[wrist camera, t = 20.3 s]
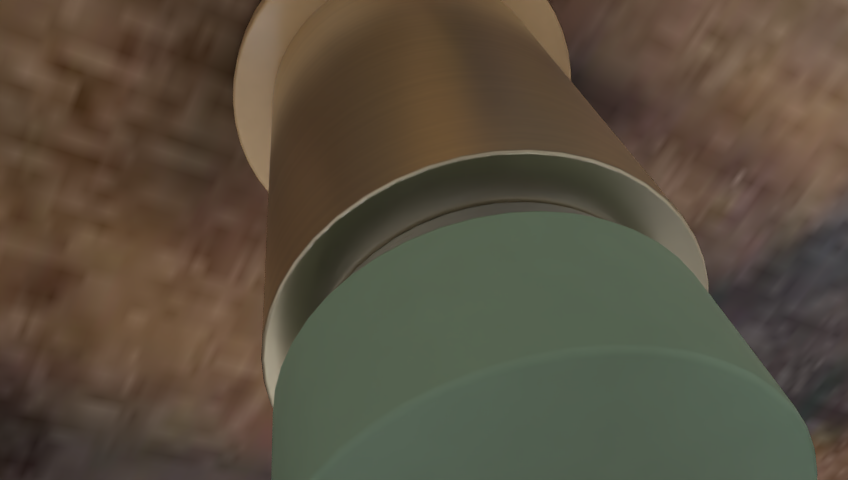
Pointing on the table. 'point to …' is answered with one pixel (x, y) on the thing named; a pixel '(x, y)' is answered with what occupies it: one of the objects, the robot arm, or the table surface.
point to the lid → (530, 366)
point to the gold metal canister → (428, 147)
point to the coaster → (270, 37)
